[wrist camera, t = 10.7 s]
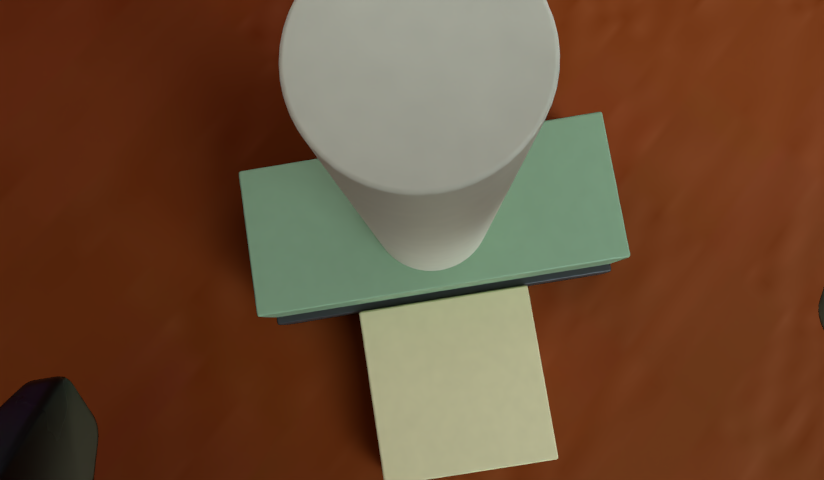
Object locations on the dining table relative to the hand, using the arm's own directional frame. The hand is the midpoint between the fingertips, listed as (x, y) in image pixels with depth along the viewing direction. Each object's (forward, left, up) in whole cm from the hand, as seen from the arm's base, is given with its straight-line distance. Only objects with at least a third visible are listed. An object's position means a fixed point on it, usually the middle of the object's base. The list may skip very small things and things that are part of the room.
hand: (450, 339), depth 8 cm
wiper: (+2, -2, -11) cm, 12 cm away
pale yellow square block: (-1, +1, -11) cm, 11 cm away
